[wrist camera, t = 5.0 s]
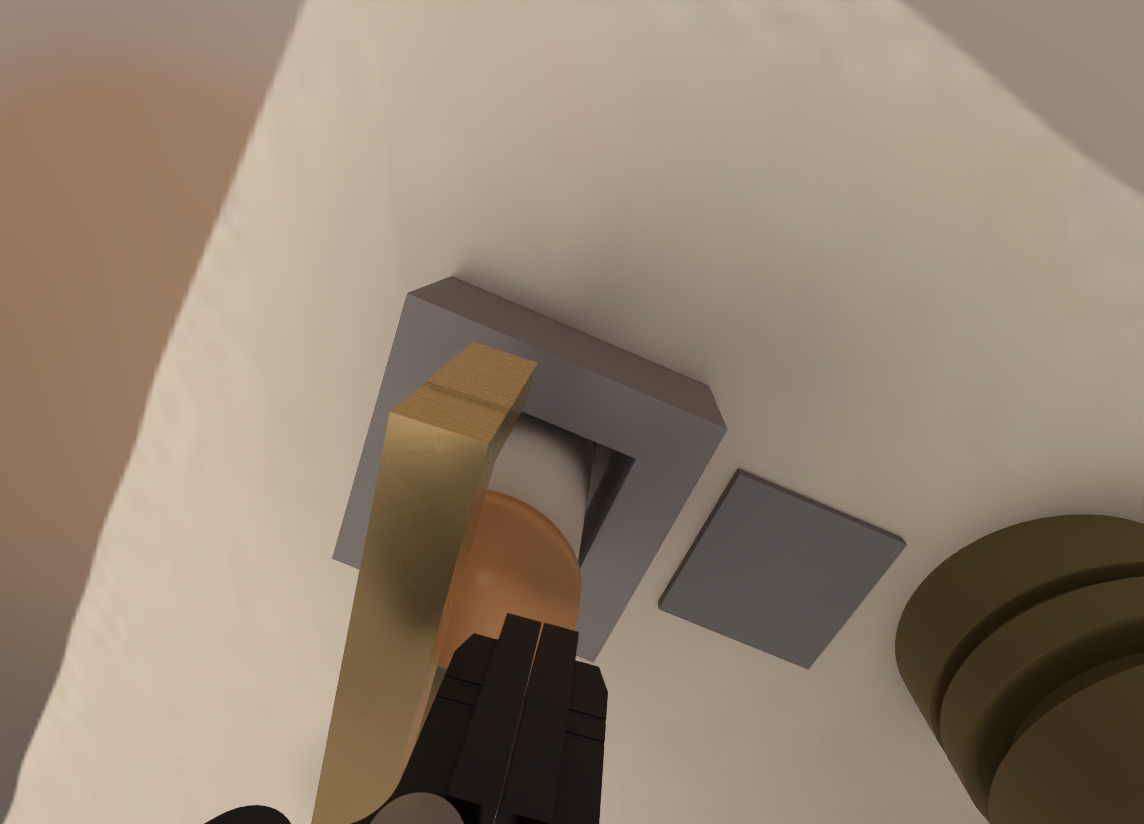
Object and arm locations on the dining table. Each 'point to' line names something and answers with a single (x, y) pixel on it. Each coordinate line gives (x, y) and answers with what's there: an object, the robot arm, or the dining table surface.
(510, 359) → the lever
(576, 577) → the plug
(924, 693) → the piston
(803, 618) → the mat
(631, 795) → the dining table surface
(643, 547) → the socket block
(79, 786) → the dining table surface
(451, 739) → the robot arm
